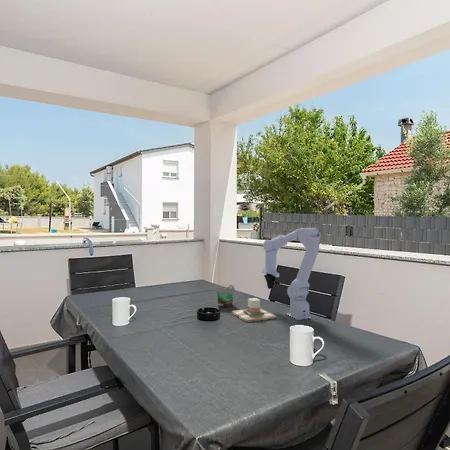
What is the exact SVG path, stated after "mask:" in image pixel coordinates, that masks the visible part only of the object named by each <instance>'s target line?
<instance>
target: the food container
mask: <svg viewBox="0 0 450 450" xmlns="http://www.w3.org/2000/svg"><path fill="white" fill-rule="evenodd" d="M235 291H236V289H235V286H234V285H231V284H229V286H227V287H226V286H223V287H222V288H219V287H217V288H216V294H217V296H216V297H217V307H218V306H219V308H229V307H228V306H230V307H232V306H233V303H234V302H233V300H234V292H235Z"/></svg>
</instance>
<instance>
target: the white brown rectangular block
mask: <svg viewBox="0 0 450 450" xmlns="http://www.w3.org/2000/svg"><path fill="white" fill-rule="evenodd" d="M260 308H261V300H260V299H259V298H257V297H252V298H247V309H248V312H249V313H259V312H260Z"/></svg>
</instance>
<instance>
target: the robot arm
mask: <svg viewBox="0 0 450 450" xmlns="http://www.w3.org/2000/svg"><path fill="white" fill-rule="evenodd" d="M321 236H322V235H321V233H320V231H319V229H318V228H317V227H300V228H297V229H295V230H293V231H292V232H290V233H288V234H286V235H285V234H284V235H283V234H278V235H277V236H275V237H271V239H266V240H265V241H264V242H263V244H262V245H263V250H264V251H265V255H264V256H265V257H264V258H265V263H264V264H265V265H264V266H265V267H264V268H262V269H261V272H262V273H263V274H264V275H263V276H264V277H263V278H264V279H265V281H266V285H267V289H269V290H271V289H273V288H274V285H275V281H276V280H277V278H280V273H279V272H278V271H277V254H278V250H279V249H280V248H283V247H286V246H287V245H288V243H289V242H292V241H294V240H298V241H300V243H301V244H302V245H303V246H304V247H305V253H304V255H303V258H302V260H301V263H300V267H299V270H298V272H297V275H296V278H295V279H294V280H293V281H291V283H290V285H289V286H288V287H287V290H286V292H287V296H288V297H289V299H290V300H289V301H290V302H289V305H290V306H289V313H286V314H287V315H286V316H288V315H289V316H288V317H290V316H291V318H292V317H293V318H292V319H294V318H295V319H294V320H295V321H296V320H297V321H300V320H308V318H309V319H311V316H310V303H309V302H308V301H307V296H308V295H309V292H310V289H309V288H310V283H309V282H308V281H309V278H310V275H311V274H312V270H313V267H314V265H315V262H316V259H317V257H318V254H319V251H320V240H321Z"/></svg>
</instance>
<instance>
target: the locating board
mask: <svg viewBox="0 0 450 450" xmlns="http://www.w3.org/2000/svg"><path fill="white" fill-rule="evenodd" d="M232 313H233V314H232ZM231 314H232V315H233V316H235V315H236V318H238V317H239V319H240V320H241V319H242V320H241V321H243V322H244V321H245V322H244V323H246V322H247V323H254V322H253V321H255V322H262V321H261V320H263V321H269V320H268V319H272V320H276V319H277V315H275V314H272V313H270V312H269V311H267V310H266V309H265V310H264V309H263V308H261V307H260V312H259V313H249V312H248V308H246V309H239V310H231ZM275 318H276V319H275Z"/></svg>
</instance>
